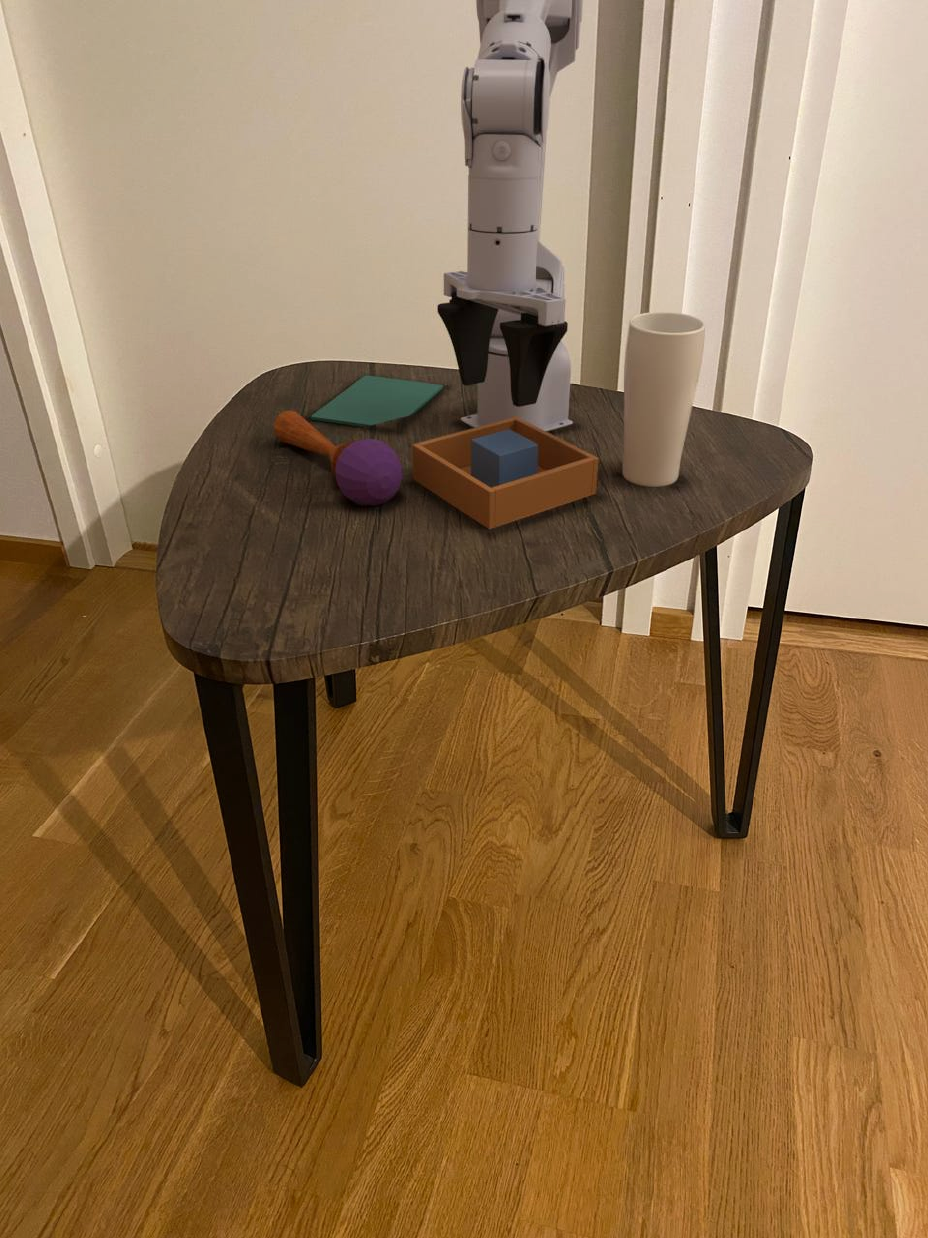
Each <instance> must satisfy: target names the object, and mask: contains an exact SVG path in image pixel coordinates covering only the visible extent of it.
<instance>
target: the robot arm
mask: <svg viewBox="0 0 928 1238" xmlns="http://www.w3.org/2000/svg"><path fill="white" fill-rule="evenodd" d="M475 2H476V3H475V5H476V6H475V7H476V17H477V21H478V30H479V44H480V46H479V50H478V55H477V59H475V62H474V66H473V67H470V68H469V66H465V67H464V71H463V75H462V79H461V80H462V81H461V90H460V91H461V92H460V93H461V95H460V111H461V112H460V114H461V125H462V131H463V140H464V166H465V167H467V168H468V175H467V241H466V242H467V245H466V246H467V247H466V248H467V250H466V251H467V255H466V256H467V257H466V258H467V259H466V262H467V263H466V271H464V270H457V271H449V272H444V273H443V296H446V297H449V298H450V299H449V301H448V302H442V303H438V305H437V307H436V308H437V311H436V312H437V314H438V315H439V317H440V319H441V320H442V323H443V325H444V326H445V329H446V331H447V333H448V336H449V338H450V341H451V344H452V348H453V351H454V355H455V358H456V363H457V367H458V372H459V376H460V380H461V383H462V385H465V386H467V387H468V386H471V385H477V398H476V399H477V403H476V407H477V408H476V410H477V412H476V413H474V414H470V415H467V416H462V417H461V418H460V421H461V422H462V423H465V424H466V425H468V426H470V427H472V428H476V427H480V426H483V425H487V424H491V423H494V422H498V421H502V420H505V419H509V418H513V417H518V418H520V419H522V420H524V421H526V422H528V423H530V424H532V425H534V426H536V427H538V428H540V429H542V430H544V431H546V432H549V431H553V430H556V429H557V430H558V429H560V428H564V427H567V426H571V425H573V424H574V423H573V422H574V421H573V420H571V419H569V411H570V410H569V409H570V396H571V395H570V394H571V377H572V364H571V357H570V354H569V351H568V350H567V349H568V348H567V347H566V345H565V344H564V343H563V342H562V340H563V338H564V337H565V335H566V334H567V332H568V328H569V327H568V325H569V323H568V322H567V321H565V317H566V302H567V301H566V298H565V267H564V266H563V262H562V260H561V259H560V258H559V257H558V256H557V254H555V253H553V251H551V249H549V248H548V247H547V246H546V245H544V244H543V243H542V242H541V240H540V239H541V225H542V210H543V196H544V181H545V168H546V167H545V166H546V152H547V151H546V150H547V137H548V136H547V135H548V127H549V120H550V119H549V118H550V102H551V101H550V100H551V95H552V92H553V88H554V85H555V82H556V78H557V75H558V73H559V72H560V71H562V70H563V69H565V68H567V67H568V66H570V65H571V64H573V63H574V62H576V54H577V50H578V49H579V47H580V35H581V34H580V33H581V24H582V20H583V9H584V8H583V6H584V0H475Z"/></svg>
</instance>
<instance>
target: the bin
mask: <svg viewBox="0 0 928 1238" xmlns="http://www.w3.org/2000/svg"><path fill="white" fill-rule="evenodd" d="M508 429H510V430H512V431H513V432H515V433H517V434H519V435H521V436H523V437H525V438H527V439H529V440H531V441H533V442H534V443H536V444H538V459H537V474H534V475H531V476H528V477H525V478H521V479H518V480H515V481H512V482H509V483H505V484H502V485H499V486H496V487H492V488H490V487H489V486H487V485H486V484H484V483H482V482H481V481H479V480H477V479H476V478H474V477H472V476H471V440H472V439H476V438H479V437H483V436H486V435H490V434H494V433H497V432H501V431H504V430H508ZM598 469H599V457H598V456H596V455H594V454H591V453H590V452H587V451H585V450H584V449H582V448H579V447H577V446H576V445H574V444H571V443H570V442H568V441H566V440H564V439H562V438H560V437H558V436H556V435H554V434H552V433H550V432H549V431H544V430H542V429H540V428H538V427H536V426H534V425H532V424H530V423H528V422H526V421H524V420H522V419H520V418H518V417H513V418H509V419H505V420H502V421H498V422H494V423H491V424H487V425H483V426H480V427H476V428H474V427H472V428H469V429H464V430H462V431H458V432H454V433H450V434H447V435H443V436H439V437H435V438H432V439H428V440H424V441H421V442H417V443H414V444H412V475H413V476H412V477H413V481H415V482H416V483H418V484H420V485H421V486H423V487H424V488H425V489H427V490H429V491H430V492H431V493H433V494H434V495H436V496H438V497H439V498H441V499H442V500H444V501H445V502H447V503H448V504H450V505H452V506H453V507H454V508H456V509H457V510H459V511H460V512H462V513H463V514H465V515H467V516H468V517H469V518H471V519H473V520H475V521H476V522H477V523H478V524H480V525H482V526H484V527H485V528H487V529H488V530H491V529H495V528H497V527H501V526H503V525H506V524H509V523H513V522H515V521H518V520H521V519H524V518H527V517H530V516H533V515H536V514H538V513H539V514H540V513H542V512H545V511H548V510H551V509H554V508H557V507H560V506H562V505H563V506H564V505H565V504H569V503H572V502H575V501H578V500H581V499H583V498H587V497H590V496H592V495H596V493H597V482H598Z"/></svg>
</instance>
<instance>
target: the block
mask: <svg viewBox="0 0 928 1238" xmlns="http://www.w3.org/2000/svg"><path fill="white" fill-rule="evenodd" d="M537 459H538V444H536V443H534V442H533V441H531V440H529V439H527V438H525V437H523V436H521V435H519V434H517V433H515V432H513V431H512V430H510V429H508V430H504V431H501V432H497V433H494V434H490V435H486V436H483V437H479V438H476V439H472V440H471V476H472V477H474V478H476V479H477V480H479V481H481V482H482V483H484V484H486V485H487V486H489V487H490V488H492V487H496V486H499V485H502V484H505V483H509V482H512V481H515V480H518V479H521V478H525V477H528V476H531V475H534V474H537Z"/></svg>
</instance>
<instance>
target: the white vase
mask: <svg viewBox="0 0 928 1238" xmlns="http://www.w3.org/2000/svg"><path fill="white" fill-rule="evenodd" d="M705 337H706V323H705V321H703V320H702V319H700V318H698V317H696V316H693V315H690V314H687V313H686V314H685V313H681V312H680V313H679V312H671V311H651V312H644V313H640V314H637V315H634V316H632V317H631V318H630V319H629V321H628V328H627V335H626V342H625V351H624V366H623V456H622V466H621V473H622V477H623V478H624V479H625V480H626V481H628V482H629V483H631V484H634V485H637V486H642V487H651V488H657V487H658V488H659V487H666V486H669V485H672V484H674V483H675V482H676V481H678V479H679V475H680V467H681V461H682V455H683V451H684V445H685V442H686V437H687V433H688V428H689V424H690V419H691V414H692V412H693V411H692V410H693V405H694V401H695V397H696V393H697V388H698V383H699V379H700V374H701V370H702V363H703V357H704V349H705Z"/></svg>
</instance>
